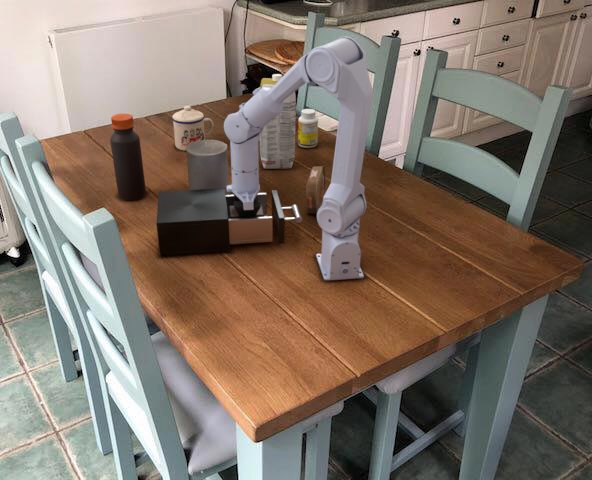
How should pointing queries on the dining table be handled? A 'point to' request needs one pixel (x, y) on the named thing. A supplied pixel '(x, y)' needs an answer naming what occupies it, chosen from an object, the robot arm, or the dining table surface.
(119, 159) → the vinegar
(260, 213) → the packet
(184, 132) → the teacup with lid
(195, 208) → the black box
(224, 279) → the dining table surface
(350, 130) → the robot arm
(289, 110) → the juice carton
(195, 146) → the pillar candle
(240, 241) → the drawer
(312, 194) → the tin
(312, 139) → the supplement bottle
